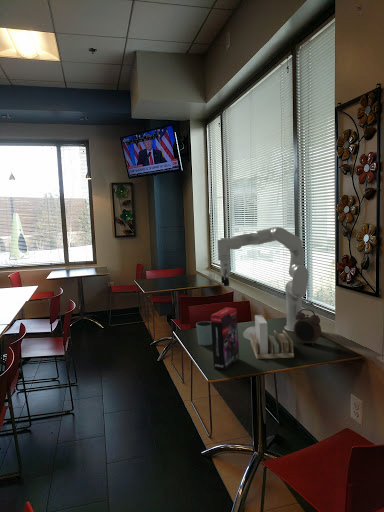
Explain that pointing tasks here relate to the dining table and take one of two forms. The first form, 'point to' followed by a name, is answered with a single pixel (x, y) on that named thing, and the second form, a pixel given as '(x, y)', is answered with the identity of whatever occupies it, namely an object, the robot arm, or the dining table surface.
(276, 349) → the sage offcut
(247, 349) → the dining table surface
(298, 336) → the alarm clock
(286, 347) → the plywood offcut
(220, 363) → the graphics card box
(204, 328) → the grey cylindrical cup
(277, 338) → the rack
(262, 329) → the white rectangular block
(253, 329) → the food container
